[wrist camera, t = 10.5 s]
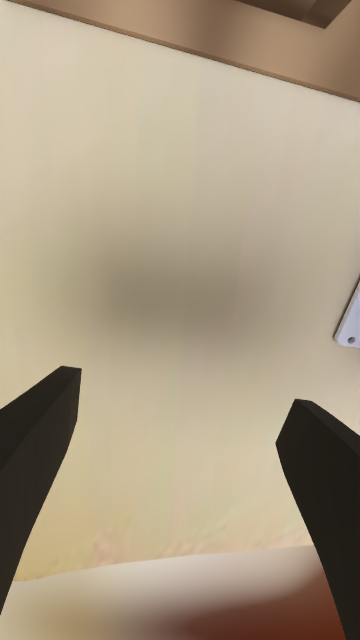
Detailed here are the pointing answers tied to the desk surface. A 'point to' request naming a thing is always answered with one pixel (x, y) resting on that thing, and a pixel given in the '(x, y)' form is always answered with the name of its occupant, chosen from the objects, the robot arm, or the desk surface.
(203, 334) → the desk surface
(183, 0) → the peg stand
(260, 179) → the desk surface
